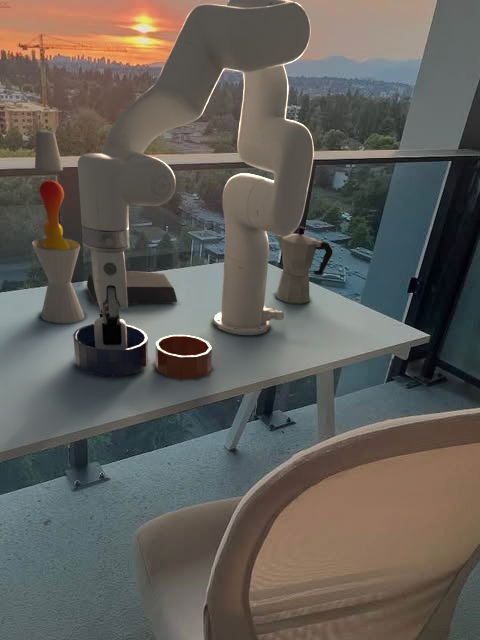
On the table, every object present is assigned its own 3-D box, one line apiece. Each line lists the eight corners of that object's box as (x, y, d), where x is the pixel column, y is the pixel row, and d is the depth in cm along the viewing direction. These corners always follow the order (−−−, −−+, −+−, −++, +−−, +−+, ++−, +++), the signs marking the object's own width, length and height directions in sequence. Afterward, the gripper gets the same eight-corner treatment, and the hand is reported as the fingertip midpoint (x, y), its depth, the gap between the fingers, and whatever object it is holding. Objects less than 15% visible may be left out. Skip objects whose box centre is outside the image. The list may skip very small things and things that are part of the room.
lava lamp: (90, 321, 132) (78, 137, 112) (46, 325, 127) (25, 133, 108) (78, 306, 138) (64, 129, 118) (35, 309, 133) (13, 125, 114)
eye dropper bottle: (106, 353, 119) (102, 291, 112) (131, 360, 118) (129, 299, 111) (92, 360, 116) (87, 297, 109) (118, 368, 115) (115, 305, 108)
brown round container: (203, 355, 126) (204, 334, 123) (215, 378, 118) (216, 356, 116) (152, 356, 122) (152, 335, 120) (161, 380, 114) (161, 357, 112)
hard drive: (86, 286, 149) (85, 269, 147) (166, 286, 157) (166, 270, 154) (92, 305, 140) (91, 287, 137) (178, 305, 147) (178, 288, 145)
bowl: (142, 348, 124) (141, 322, 121) (152, 377, 115) (152, 350, 112) (73, 350, 120) (71, 323, 117) (78, 380, 110) (75, 351, 107)
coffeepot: (263, 296, 160) (269, 224, 150) (275, 287, 168) (282, 218, 158) (319, 310, 158) (329, 237, 147) (329, 300, 165) (340, 230, 155)
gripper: (135, 252, 99) (138, 357, 110) (123, 225, 112) (126, 322, 122) (86, 250, 97) (93, 358, 107) (78, 222, 109) (86, 322, 119)
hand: (111, 338), depth 114 cm, fingers closed on eye dropper bottle, 3 cm apart
